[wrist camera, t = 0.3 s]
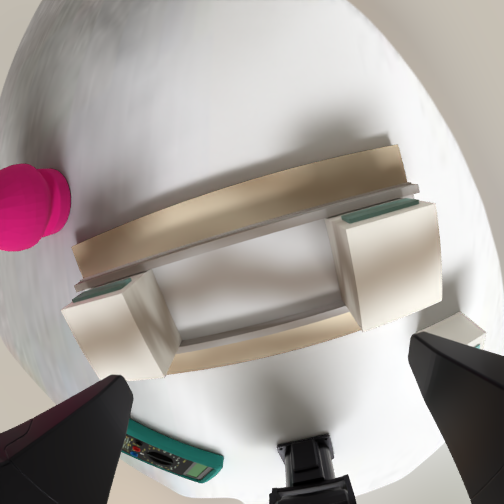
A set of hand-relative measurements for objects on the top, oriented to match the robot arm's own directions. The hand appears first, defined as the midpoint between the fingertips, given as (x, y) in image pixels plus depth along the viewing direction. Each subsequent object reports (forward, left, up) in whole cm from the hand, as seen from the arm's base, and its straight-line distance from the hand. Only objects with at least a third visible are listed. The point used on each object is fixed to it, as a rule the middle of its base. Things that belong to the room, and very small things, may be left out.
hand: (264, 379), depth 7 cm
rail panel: (-2, +2, -14) cm, 14 cm away
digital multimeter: (-23, +19, -15) cm, 33 cm away
